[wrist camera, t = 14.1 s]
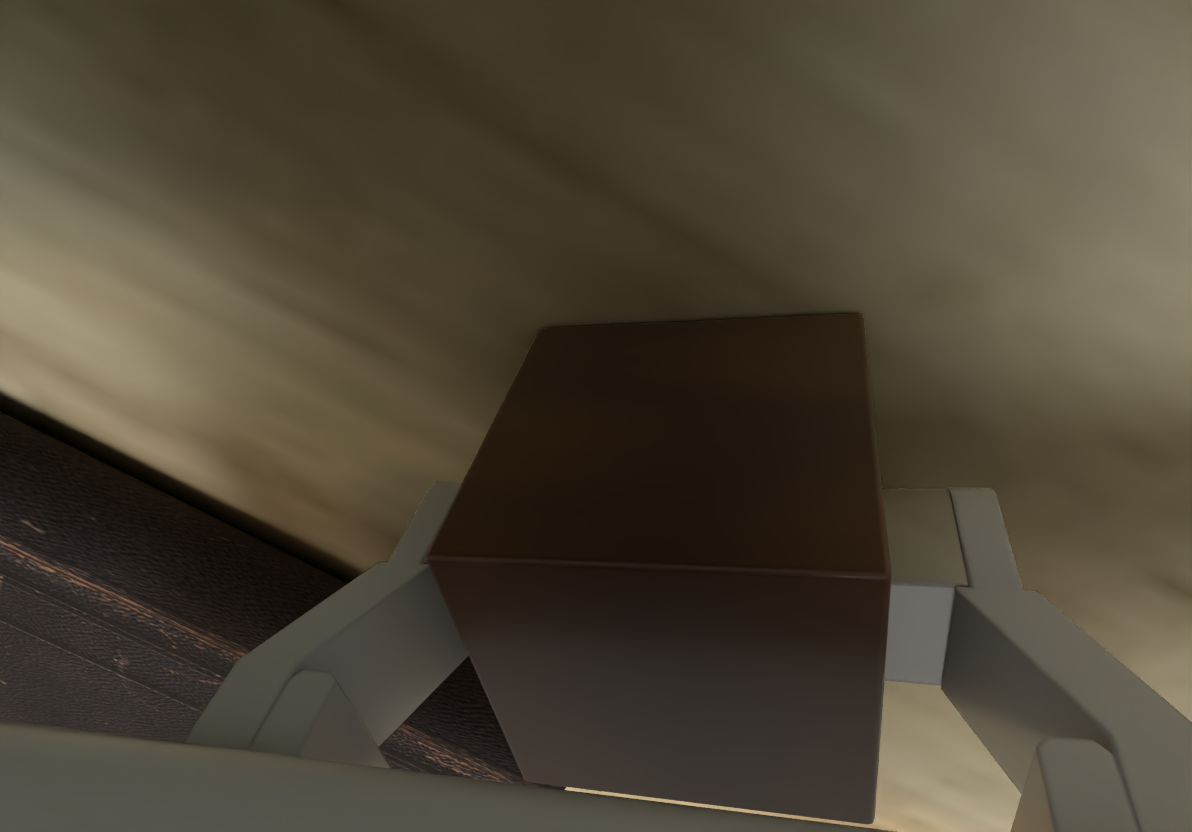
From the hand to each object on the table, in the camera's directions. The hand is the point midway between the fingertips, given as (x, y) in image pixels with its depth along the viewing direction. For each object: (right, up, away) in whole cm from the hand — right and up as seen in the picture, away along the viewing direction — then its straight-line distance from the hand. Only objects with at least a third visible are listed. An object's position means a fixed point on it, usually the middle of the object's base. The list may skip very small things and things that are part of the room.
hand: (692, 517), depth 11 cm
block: (0, +1, +1) cm, 2 cm away
